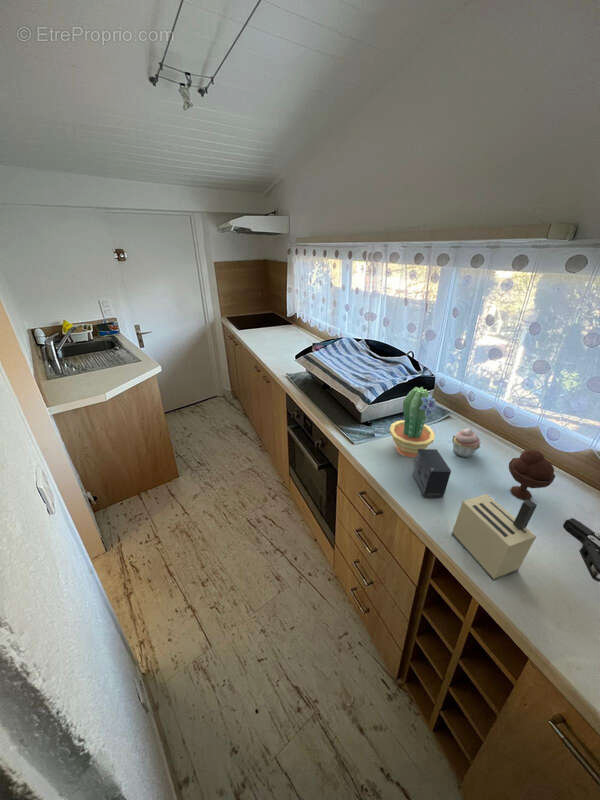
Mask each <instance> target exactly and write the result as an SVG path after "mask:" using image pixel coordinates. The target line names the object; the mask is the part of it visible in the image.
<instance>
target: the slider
mask: <svg viewBox="0 0 600 800" xmlns="http://www.w3.org/2000/svg"><path fill="white" fill-rule="evenodd" d="M537 507H538V504H537V503H536V502H534V501H532V499H530V500H524V501H523V502H522V504H521V506H520V508H519V510H518V512H517V515H516V516H515V521H514V523H513V525H514V526H515V527H516V528H518V529H519V530H521V529H524V528H527V526H528V525H529V523H530V521H531V519H532V517H533V515H534V513H535V511H536V510H537V509H536V508H537Z"/></svg>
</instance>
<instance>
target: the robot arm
mask: <svg viewBox="0 0 600 800" xmlns="http://www.w3.org/2000/svg"><path fill="white" fill-rule="evenodd" d="M562 527H563V529H564V530H565V531H566V532H567V533H568V534H570V535H571V536H572V537H573V538H575V539H576V540H577V541H578V542H580V543H581V547H580V549H579V550H578V553H579V554H580V556H581V558H582V561H583V562H584V564H585V565H584V566H586V569H587V571H588V572H589V575H590V577H591V578H592V580H594V581H596V582H598V583H600V532H595V531H594V530H592V529H591V528H589V527H588V526H586V525H585V524H584V523H582V522H581V521H579V520H578V519H576V518H575V517H571V518H568V519H566V520H565V521H564V523H563V525H562Z"/></svg>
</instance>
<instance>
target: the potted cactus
mask: <svg viewBox="0 0 600 800" xmlns="http://www.w3.org/2000/svg"><path fill="white" fill-rule="evenodd" d="M436 402H437V401H436V400H435V398H433V396H432V395H431V394H430V392H429V391H428V389H427V388H425V389H424V387H423V386H420V387H418V386H415V387H413V389H411V390H410V391H409V392H408V393H407V395H406V396H405V397H404V398H403V399H402V413H403V415H404V416H403V418H404V419H403V420H397V421H395V422H393V423H392V424H391V425H390V427H389V434H390V435H391V437H392V440H393V442H394V444H395V445H396V446H395V449H396V451H397V452H398V453H399V454H400V455H402V456H403V457H408V458H417V453H418V449H428V447H429V445H431V444H433V442H434V441H435V437H436V433H435V431H434V430H433V429H432V428H431V427H430V426H429V425H427V424H425V423H426V419H427V418H428V416H429V415H430V414H435V412H436V409H437V403H436Z"/></svg>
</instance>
